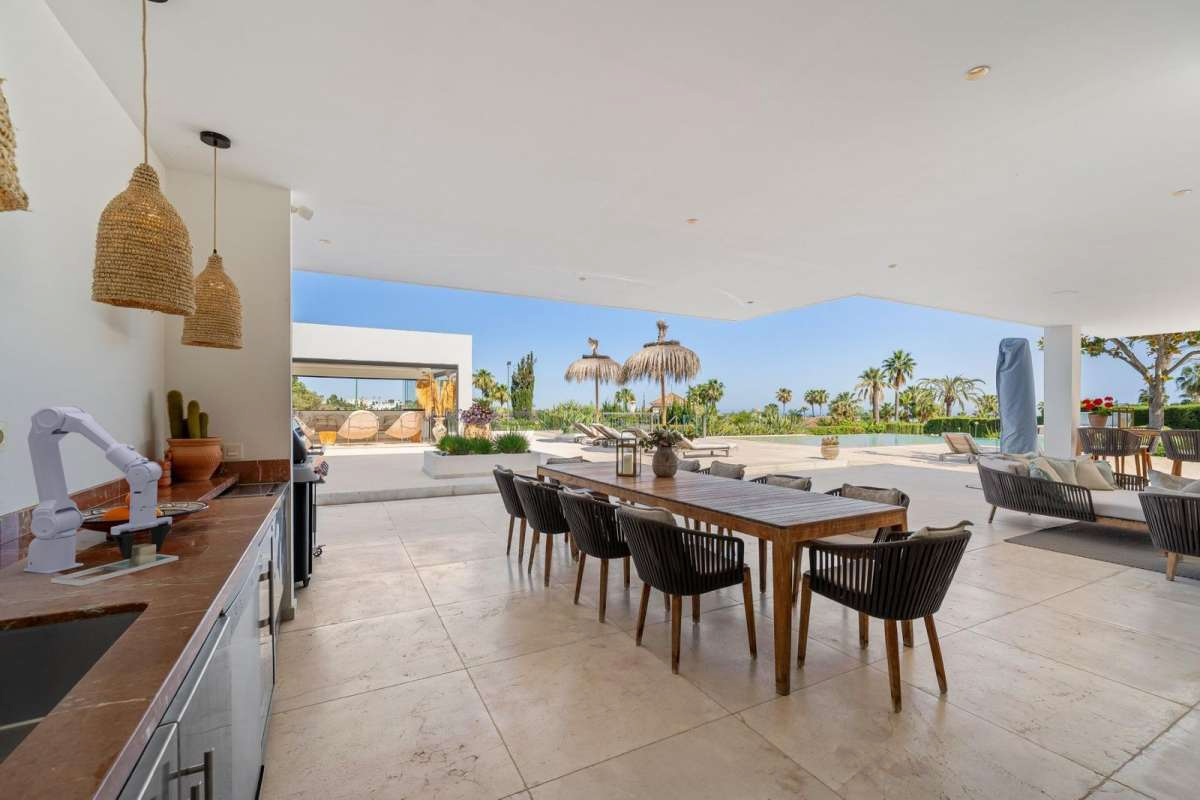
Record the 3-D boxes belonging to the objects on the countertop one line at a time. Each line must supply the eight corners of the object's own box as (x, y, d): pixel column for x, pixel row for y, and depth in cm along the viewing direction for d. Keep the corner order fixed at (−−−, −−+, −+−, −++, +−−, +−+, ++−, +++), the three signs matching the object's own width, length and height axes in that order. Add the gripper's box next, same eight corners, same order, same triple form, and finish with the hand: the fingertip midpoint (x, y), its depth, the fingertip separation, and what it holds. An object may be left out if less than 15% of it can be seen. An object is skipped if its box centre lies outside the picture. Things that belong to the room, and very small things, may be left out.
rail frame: (50, 582, 130) (50, 578, 130) (151, 557, 153) (151, 553, 153) (80, 586, 128) (80, 581, 128) (178, 559, 151) (178, 556, 151)
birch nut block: (129, 565, 145) (129, 547, 145) (144, 561, 148) (145, 543, 149) (140, 566, 144) (140, 548, 144) (155, 562, 148) (156, 544, 148)
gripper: (125, 511, 138) (123, 563, 138) (180, 502, 153) (179, 549, 152) (105, 510, 140) (103, 561, 140) (161, 501, 154) (160, 547, 154)
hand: (141, 555), depth 146 cm, fingers open, 7 cm apart
